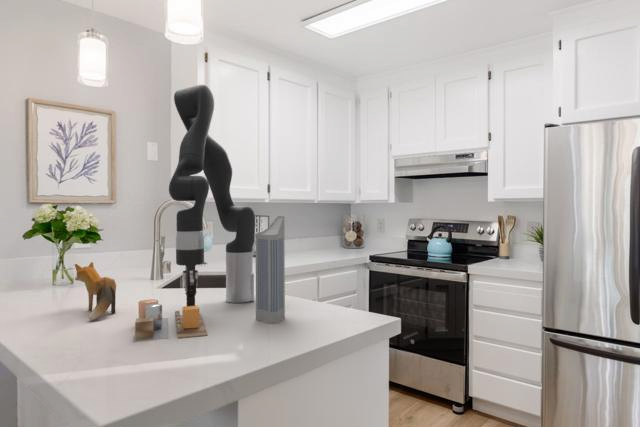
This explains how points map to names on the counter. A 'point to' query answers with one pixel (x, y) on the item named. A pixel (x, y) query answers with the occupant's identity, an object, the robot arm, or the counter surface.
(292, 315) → the counter surface
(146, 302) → the salmon domed cylinder
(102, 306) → the toy
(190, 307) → the orange block
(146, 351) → the counter surface
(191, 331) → the rail
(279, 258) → the building model
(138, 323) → the oak block
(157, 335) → the slate tray
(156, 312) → the metal canister
